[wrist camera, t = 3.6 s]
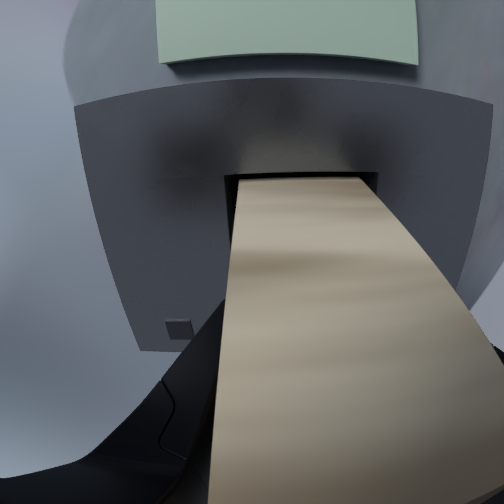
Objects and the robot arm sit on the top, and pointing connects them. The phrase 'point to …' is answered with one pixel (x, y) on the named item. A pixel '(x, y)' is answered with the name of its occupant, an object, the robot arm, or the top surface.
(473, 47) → the top surface
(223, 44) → the pad
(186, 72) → the top surface
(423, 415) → the peg
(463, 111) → the plate
